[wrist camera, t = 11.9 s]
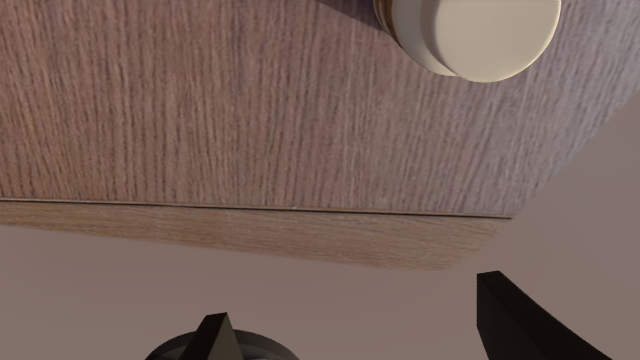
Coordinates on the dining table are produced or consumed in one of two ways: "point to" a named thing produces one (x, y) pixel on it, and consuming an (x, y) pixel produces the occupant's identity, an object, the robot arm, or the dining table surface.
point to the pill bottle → (471, 34)
